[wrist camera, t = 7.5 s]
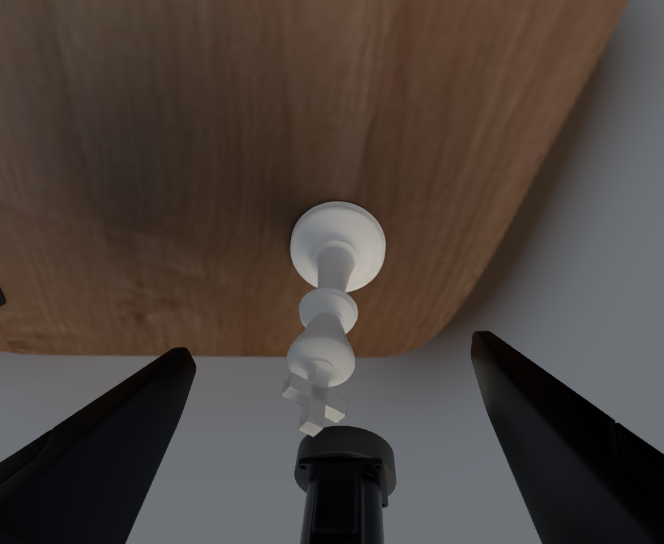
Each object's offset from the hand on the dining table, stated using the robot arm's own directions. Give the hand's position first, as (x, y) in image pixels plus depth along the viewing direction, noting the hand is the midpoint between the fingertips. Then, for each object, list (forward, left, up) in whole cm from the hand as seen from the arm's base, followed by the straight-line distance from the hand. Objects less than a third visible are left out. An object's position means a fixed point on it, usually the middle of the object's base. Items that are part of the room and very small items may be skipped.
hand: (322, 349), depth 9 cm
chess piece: (0, 0, -8) cm, 8 cm away
